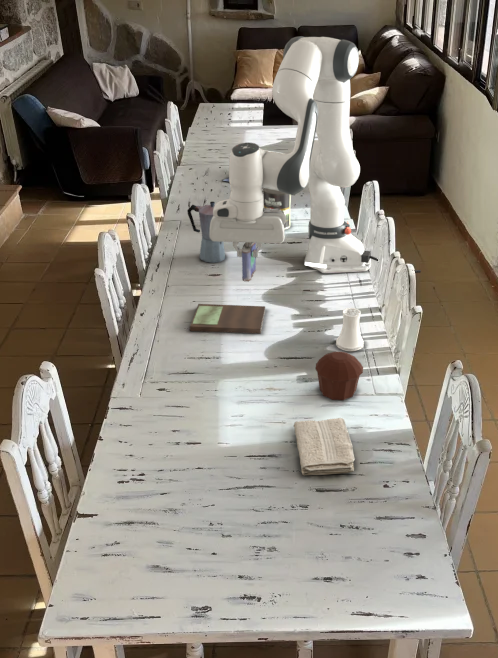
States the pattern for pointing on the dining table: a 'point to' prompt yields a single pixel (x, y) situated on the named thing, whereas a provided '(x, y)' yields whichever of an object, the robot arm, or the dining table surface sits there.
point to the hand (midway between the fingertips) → (247, 256)
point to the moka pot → (207, 234)
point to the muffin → (338, 375)
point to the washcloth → (324, 447)
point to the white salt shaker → (350, 331)
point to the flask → (248, 261)
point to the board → (228, 318)
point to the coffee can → (278, 203)
